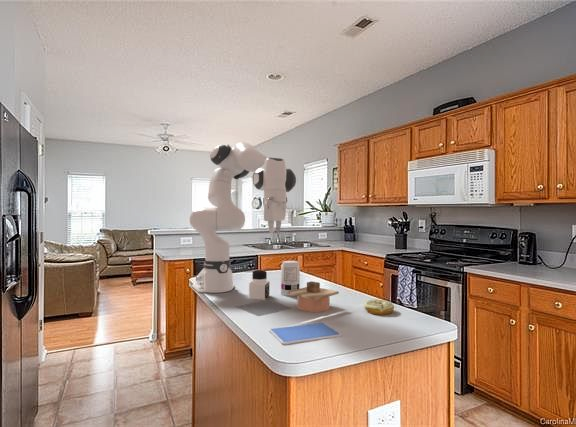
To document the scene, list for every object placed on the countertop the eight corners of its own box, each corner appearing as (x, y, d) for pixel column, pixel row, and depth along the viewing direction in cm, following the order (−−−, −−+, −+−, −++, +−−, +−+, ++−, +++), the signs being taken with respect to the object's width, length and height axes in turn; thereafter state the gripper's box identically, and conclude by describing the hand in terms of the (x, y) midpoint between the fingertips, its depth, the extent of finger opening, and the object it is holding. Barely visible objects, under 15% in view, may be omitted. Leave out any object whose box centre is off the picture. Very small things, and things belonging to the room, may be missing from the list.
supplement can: (277, 295, 156) (277, 261, 156) (289, 292, 162) (290, 259, 162) (290, 298, 151) (290, 263, 151) (303, 295, 157) (303, 261, 157)
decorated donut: (359, 312, 132) (359, 302, 132) (373, 306, 140) (373, 296, 140) (385, 317, 125) (385, 307, 125) (398, 311, 133) (398, 301, 133)
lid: (287, 293, 135) (287, 282, 135) (310, 288, 145) (310, 277, 145) (316, 300, 125) (316, 288, 125) (338, 293, 136) (338, 282, 136)
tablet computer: (323, 325, 117) (323, 321, 117) (342, 338, 106) (342, 333, 106) (268, 332, 110) (268, 328, 110) (283, 347, 98) (283, 342, 98)
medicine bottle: (265, 301, 146) (265, 272, 146) (248, 300, 148) (249, 271, 148) (269, 296, 153) (269, 269, 153) (253, 296, 155) (254, 268, 155)
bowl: (291, 308, 136) (291, 293, 136) (313, 302, 144) (313, 288, 144) (312, 315, 127) (313, 299, 127) (335, 309, 134) (335, 294, 134)
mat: (234, 307, 136) (234, 306, 136) (267, 301, 146) (267, 299, 146) (258, 317, 124) (258, 316, 124) (292, 309, 134) (292, 308, 134)
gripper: (276, 196, 130) (275, 234, 130) (288, 198, 149) (288, 231, 150) (259, 196, 131) (259, 233, 131) (274, 198, 151) (273, 230, 151)
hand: (274, 232), depth 141 cm, fingers open, 8 cm apart
